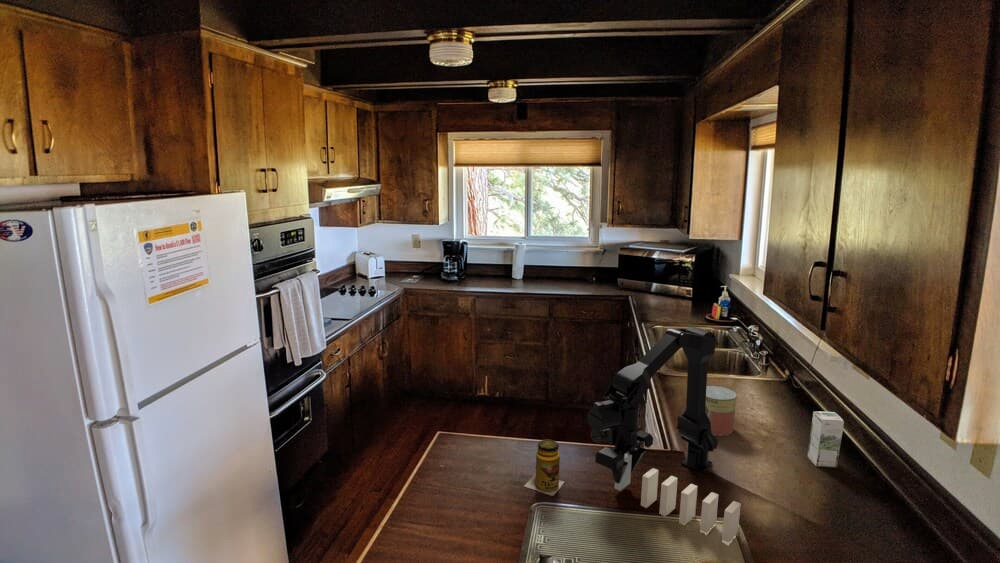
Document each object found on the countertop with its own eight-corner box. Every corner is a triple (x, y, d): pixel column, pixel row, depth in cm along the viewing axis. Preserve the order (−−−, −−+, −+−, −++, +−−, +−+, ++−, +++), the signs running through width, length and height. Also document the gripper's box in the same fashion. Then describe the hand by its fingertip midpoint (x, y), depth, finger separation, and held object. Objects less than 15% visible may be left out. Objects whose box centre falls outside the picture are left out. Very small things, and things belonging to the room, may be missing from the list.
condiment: (553, 496, 140) (554, 452, 138) (523, 486, 145) (524, 444, 142) (564, 482, 147) (566, 440, 144) (535, 473, 151) (536, 432, 148)
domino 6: (730, 532, 127) (733, 500, 125) (737, 535, 126) (740, 503, 124) (721, 542, 124) (724, 510, 122) (728, 546, 122) (732, 513, 121)
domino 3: (669, 505, 137) (671, 475, 136) (675, 507, 136) (677, 478, 135) (659, 513, 134) (661, 483, 132) (665, 516, 133) (667, 486, 131)
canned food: (688, 422, 183) (691, 387, 180) (717, 418, 186) (720, 384, 183) (710, 437, 172) (714, 401, 170) (741, 433, 175) (744, 397, 173)
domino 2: (650, 496, 141) (652, 467, 139) (656, 499, 140) (658, 470, 138) (640, 505, 137) (642, 475, 135) (646, 508, 136) (648, 478, 134)
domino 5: (708, 522, 130) (711, 491, 129) (715, 525, 129) (718, 494, 128) (699, 532, 127) (702, 500, 125) (706, 535, 126) (709, 503, 124)
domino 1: (624, 480, 145) (626, 452, 144) (630, 483, 144) (632, 454, 143) (614, 488, 142) (616, 459, 140) (619, 490, 141) (621, 461, 139)
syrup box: (827, 457, 161) (834, 410, 158) (837, 468, 155) (844, 420, 152) (806, 456, 161) (812, 409, 158) (816, 467, 155) (822, 418, 153)
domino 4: (688, 513, 134) (691, 483, 132) (694, 516, 133) (697, 486, 131) (678, 523, 130) (681, 492, 129) (685, 526, 129) (688, 494, 128)
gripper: (618, 401, 152) (615, 454, 155) (578, 423, 138) (575, 480, 142) (655, 414, 144) (652, 469, 147) (616, 438, 131) (613, 498, 134)
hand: (623, 478), depth 143 cm, fingers closed on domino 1, 5 cm apart
